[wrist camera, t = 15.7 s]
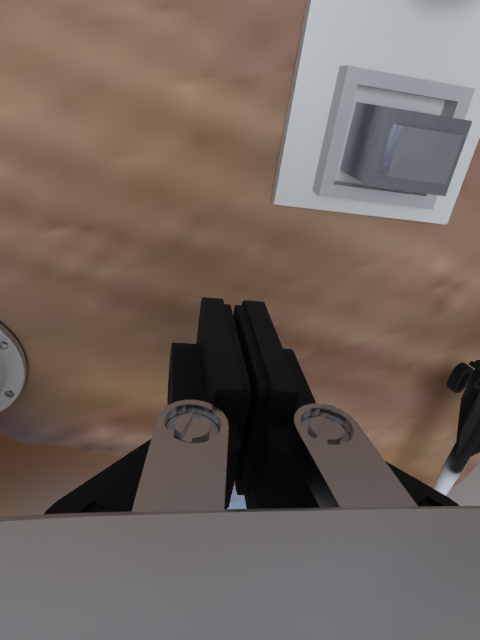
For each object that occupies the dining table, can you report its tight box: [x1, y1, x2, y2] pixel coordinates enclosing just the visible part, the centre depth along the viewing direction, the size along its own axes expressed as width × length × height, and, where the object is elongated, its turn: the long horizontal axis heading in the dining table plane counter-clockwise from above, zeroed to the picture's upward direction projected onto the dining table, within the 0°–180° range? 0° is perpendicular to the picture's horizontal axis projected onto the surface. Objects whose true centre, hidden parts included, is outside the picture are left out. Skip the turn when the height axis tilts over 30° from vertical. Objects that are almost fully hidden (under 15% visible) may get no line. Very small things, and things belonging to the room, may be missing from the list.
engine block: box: [340, 102, 472, 196], centre depth 32 cm, size 5×6×7 cm
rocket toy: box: [433, 360, 480, 496], centre depth 44 cm, size 14×6×23 cm
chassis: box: [271, 0, 480, 225], centre depth 31 cm, size 24×16×6 cm, turn 172°
